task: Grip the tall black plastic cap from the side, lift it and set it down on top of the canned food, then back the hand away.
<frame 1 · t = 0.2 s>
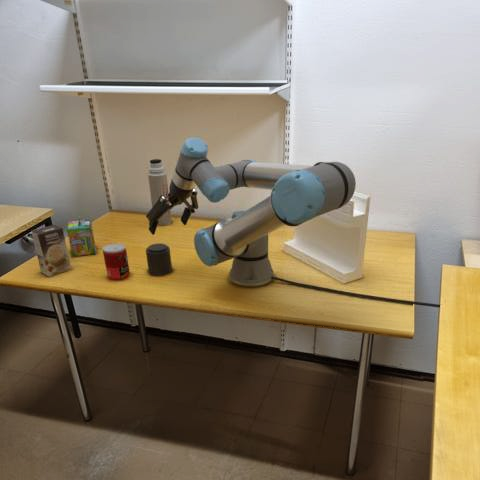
hand: (167, 227, 170), 15 cm above the table, tool tilted 35°, fingers open, 13 cm apart
chalk box: (84, 252, 192), on the table
cap: (160, 270, 174), on the table
block: (319, 263, 175), on the table
thermos bottle: (162, 223, 220), on the table
canned food: (119, 276, 171), on the table
coffee box: (56, 271, 176), on the table
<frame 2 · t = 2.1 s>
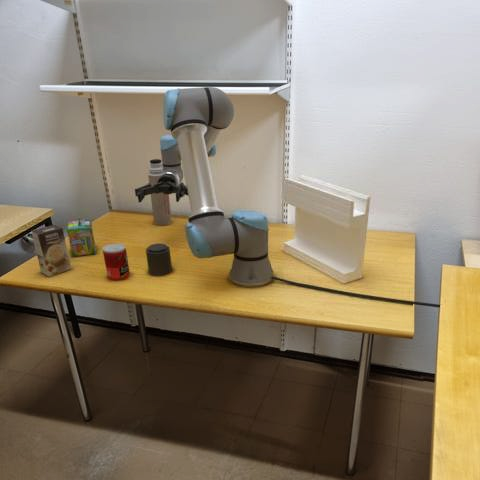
hand: (158, 198, 170), 24 cm above the table, tool horizontal, fingers open, 13 cm apart
nothing on the table moved.
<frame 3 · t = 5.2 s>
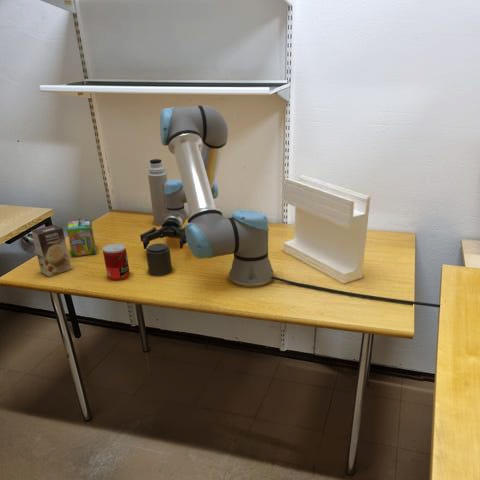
hand: (162, 245, 177), 7 cm above the table, tool horizontal, fingers open, 13 cm apart
nothing on the table moved.
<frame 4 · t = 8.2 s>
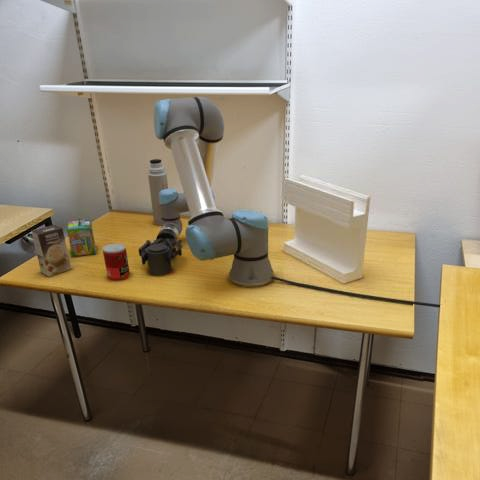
hand: (155, 260, 166), 6 cm above the table, tool horizontal, fingers closed on cap, 8 cm apart
cap: (160, 270, 174), on the table, touching gripper
everything else where it was.
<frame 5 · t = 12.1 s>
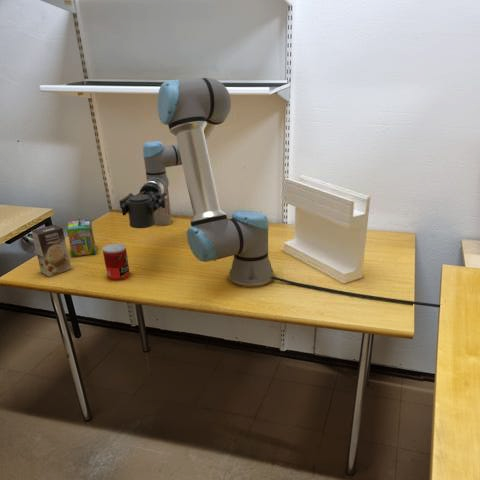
hand: (136, 211, 157), 24 cm above the table, tool horizontal, fingers closed on cap, 8 cm apart
cap: (142, 224, 164), point 18 cm above the table, touching gripper
everything else where it was.
when the fingers open (17 cm above the table, at t = 15.9 s): cap stays where it is, resting on canned food.
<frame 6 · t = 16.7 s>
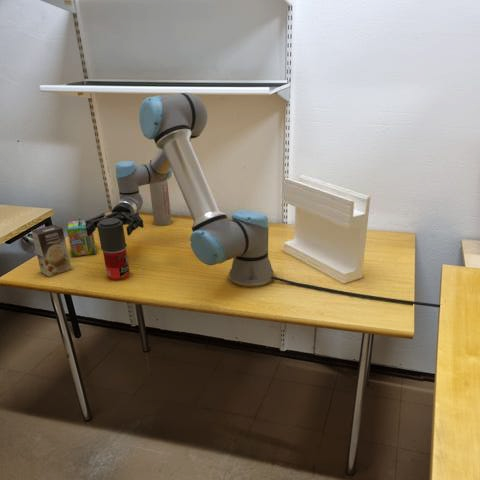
hand: (107, 231, 159), 18 cm above the table, tool horizontal, fingers open, 13 cm apart
cap: (113, 247, 165), point 11 cm above the table, touching canned food
canned food: (119, 276, 171), on the table, touching cap
everything else where it was.
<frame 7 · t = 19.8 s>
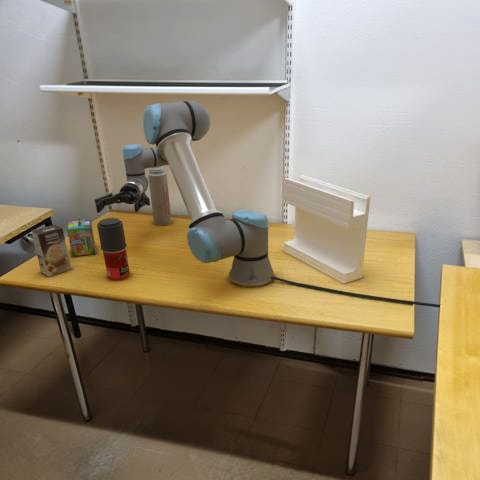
hand: (116, 208, 168), 22 cm above the table, tool horizontal, fingers open, 13 cm apart
nothing on the table moved.
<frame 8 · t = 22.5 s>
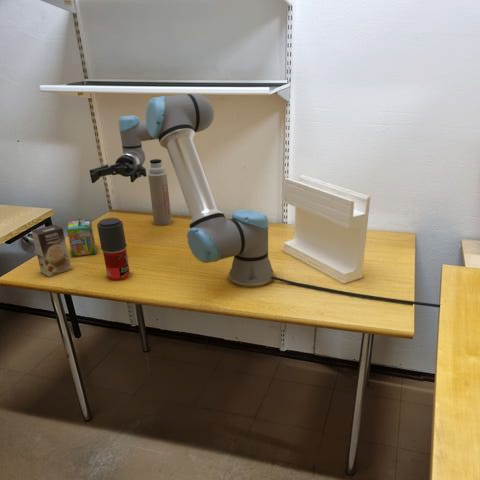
hand: (111, 178, 163), 32 cm above the table, tool horizontal, fingers open, 13 cm apart
nothing on the table moved.
at the end: cap 0.1 cm off-centre on the canned food, point 11.2 cm above the canned food's base; cap tilted 0°; the gripper is holding nothing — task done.
